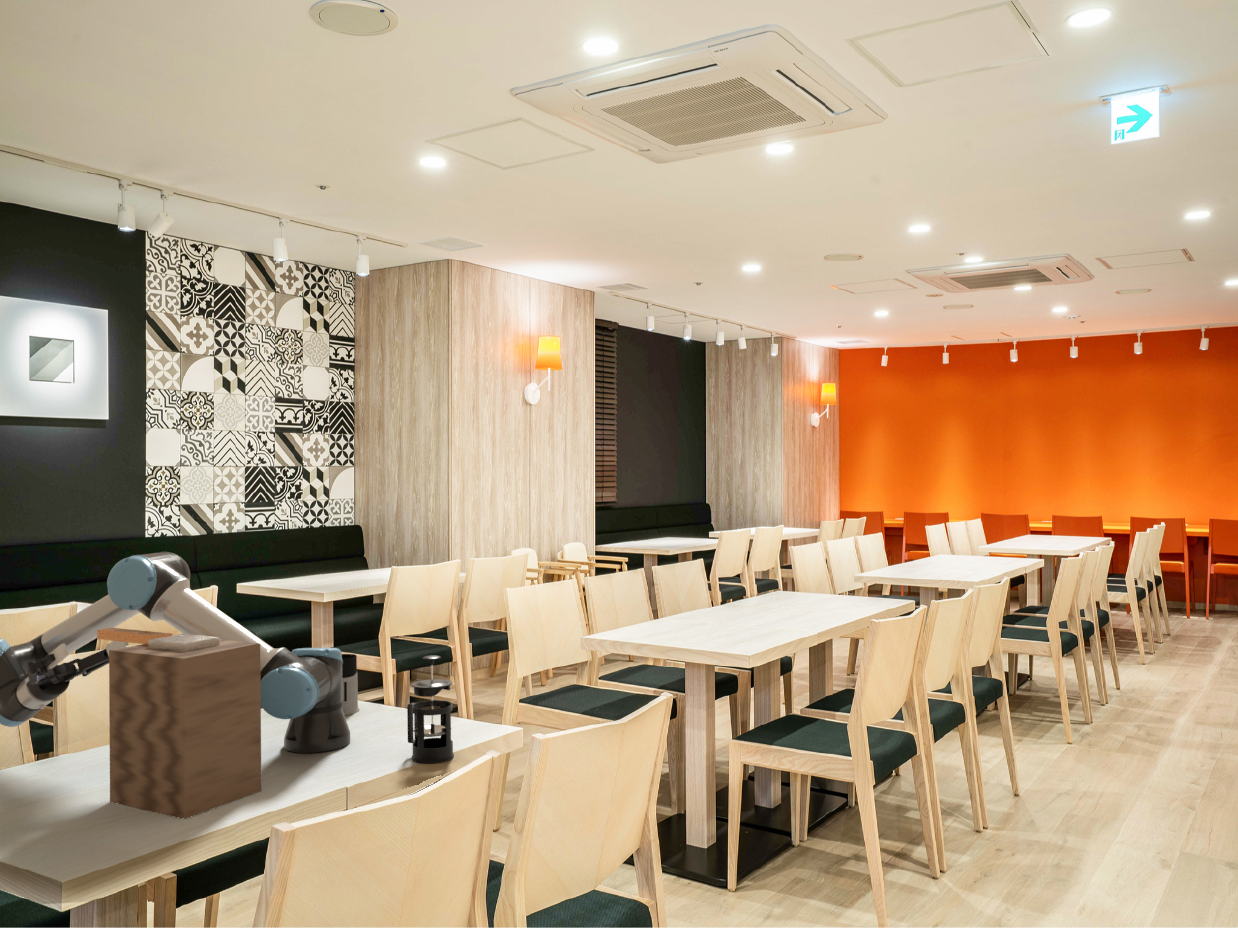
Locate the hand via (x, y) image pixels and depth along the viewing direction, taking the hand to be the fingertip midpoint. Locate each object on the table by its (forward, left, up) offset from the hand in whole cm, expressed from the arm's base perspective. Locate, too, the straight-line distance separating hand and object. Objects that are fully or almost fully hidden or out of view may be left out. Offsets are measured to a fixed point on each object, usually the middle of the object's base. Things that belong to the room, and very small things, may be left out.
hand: (96, 644), depth 205 cm
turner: (-15, +10, +1) cm, 18 cm away
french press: (-70, -4, -29) cm, 76 cm away
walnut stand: (-24, +16, -29) cm, 40 cm away
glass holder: (-42, -49, -29) cm, 71 cm away
